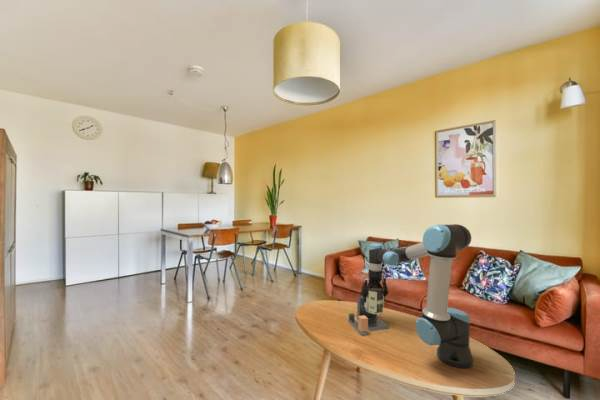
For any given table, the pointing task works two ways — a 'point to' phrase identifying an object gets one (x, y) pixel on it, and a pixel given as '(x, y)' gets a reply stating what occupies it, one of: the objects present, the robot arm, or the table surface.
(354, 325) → the rail
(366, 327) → the lever knob
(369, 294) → the coffee can
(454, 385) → the table surface
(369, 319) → the tray
